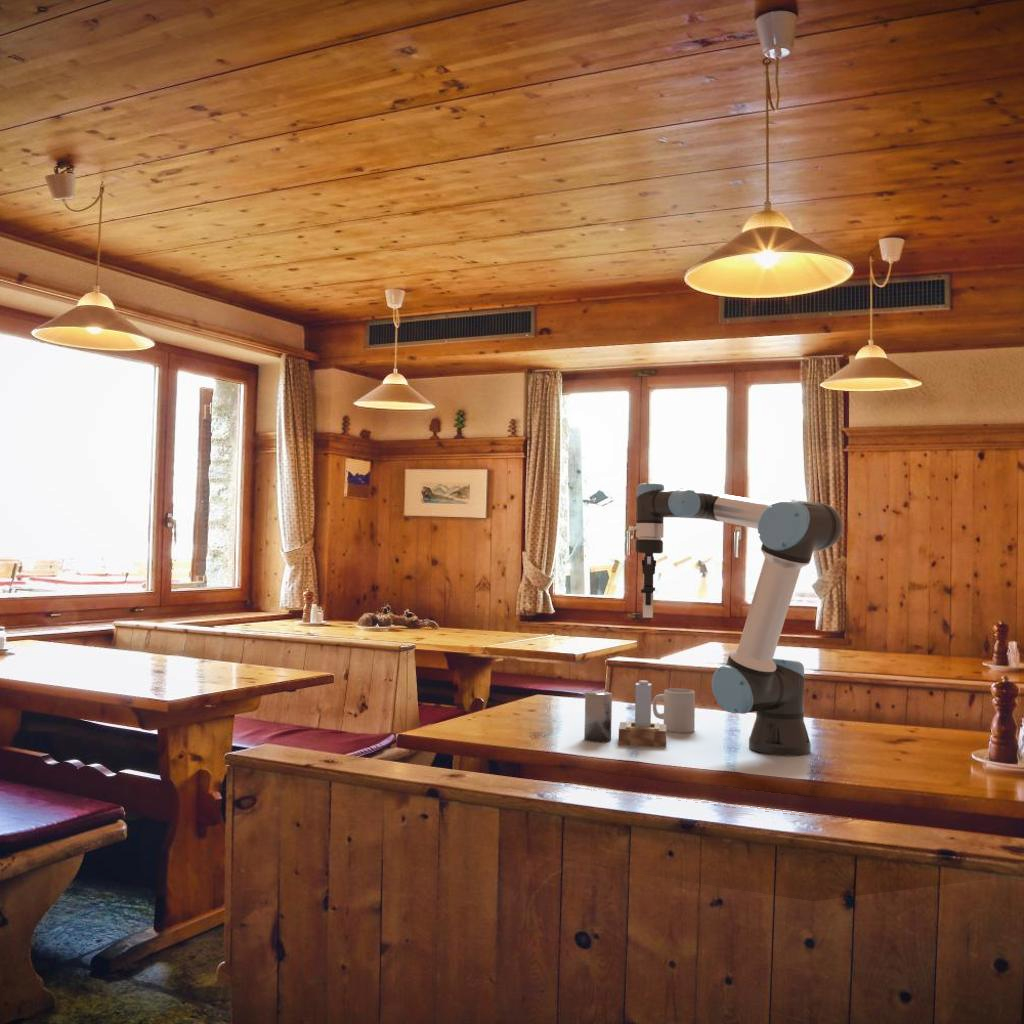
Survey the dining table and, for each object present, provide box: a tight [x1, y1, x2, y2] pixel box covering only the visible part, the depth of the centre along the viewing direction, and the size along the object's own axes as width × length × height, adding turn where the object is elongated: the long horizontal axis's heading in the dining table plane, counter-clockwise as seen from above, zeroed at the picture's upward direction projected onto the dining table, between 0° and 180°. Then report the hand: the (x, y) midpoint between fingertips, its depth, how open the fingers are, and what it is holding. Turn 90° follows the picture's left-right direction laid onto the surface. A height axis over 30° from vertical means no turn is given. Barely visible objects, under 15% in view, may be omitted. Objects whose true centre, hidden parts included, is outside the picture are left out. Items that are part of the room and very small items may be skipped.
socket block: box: [618, 720, 667, 748], centre depth 248 cm, size 12×10×4 cm
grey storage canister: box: [583, 690, 613, 743], centre depth 250 cm, size 7×7×12 cm
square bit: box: [634, 679, 652, 728], centre depth 248 cm, size 4×4×16 cm
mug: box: [652, 688, 696, 734], centre depth 267 cm, size 12×8×11 cm
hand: (647, 615), depth 264 cm, fingers open, 13 cm apart
